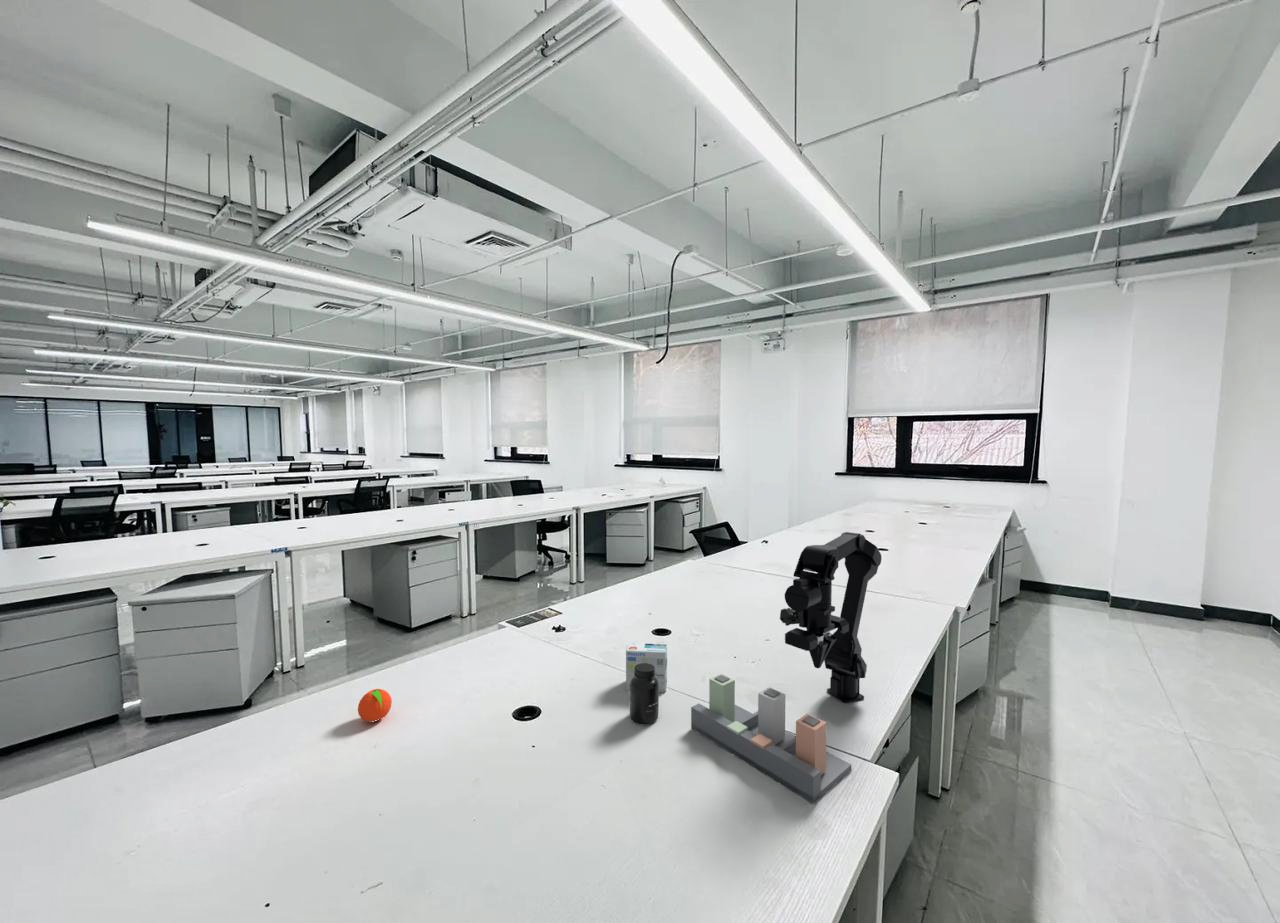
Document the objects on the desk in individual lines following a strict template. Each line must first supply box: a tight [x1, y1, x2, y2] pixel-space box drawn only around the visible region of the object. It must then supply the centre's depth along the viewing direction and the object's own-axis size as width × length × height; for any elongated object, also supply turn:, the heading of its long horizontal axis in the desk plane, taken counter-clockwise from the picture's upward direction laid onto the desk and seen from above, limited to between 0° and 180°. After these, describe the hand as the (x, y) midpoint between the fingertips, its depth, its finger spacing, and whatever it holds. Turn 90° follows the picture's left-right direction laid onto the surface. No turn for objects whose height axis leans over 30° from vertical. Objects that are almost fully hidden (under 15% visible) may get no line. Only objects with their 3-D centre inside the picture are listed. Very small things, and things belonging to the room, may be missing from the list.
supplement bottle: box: [629, 663, 660, 726], centre depth 113 cm, size 7×7×12 cm
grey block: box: [757, 686, 786, 745], centre depth 103 cm, size 4×4×10 cm
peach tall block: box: [795, 713, 827, 775], centre depth 93 cm, size 4×4×10 cm
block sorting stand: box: [690, 703, 852, 805], centre depth 102 cm, size 14×30×6 cm, turn 40°
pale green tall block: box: [708, 673, 736, 722], centre depth 109 cm, size 4×4×10 cm
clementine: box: [357, 688, 393, 722], centre depth 112 cm, size 8×7×7 cm
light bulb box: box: [625, 640, 668, 693], centre depth 129 cm, size 11×7×11 cm, turn 84°
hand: (817, 667), depth 113 cm, fingers closed
